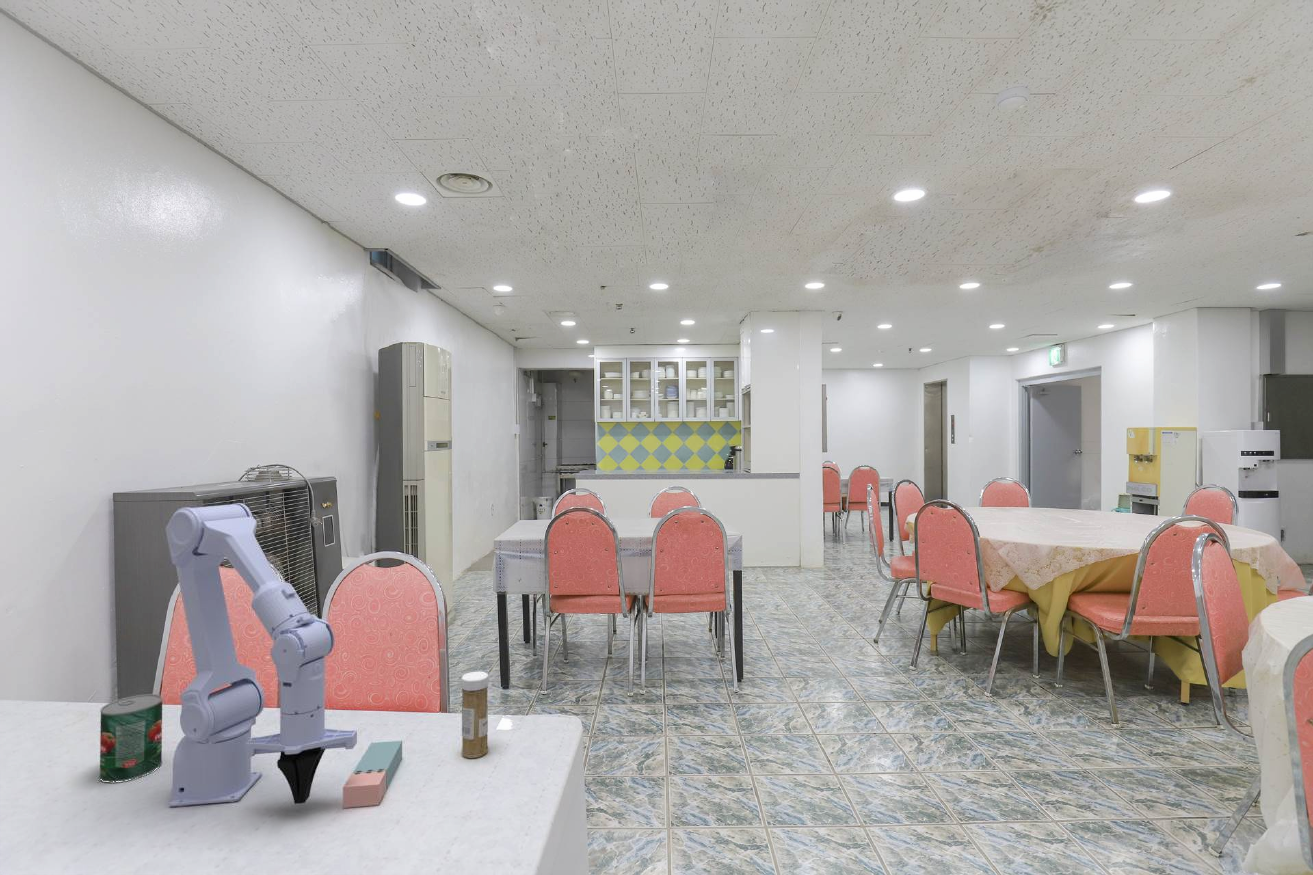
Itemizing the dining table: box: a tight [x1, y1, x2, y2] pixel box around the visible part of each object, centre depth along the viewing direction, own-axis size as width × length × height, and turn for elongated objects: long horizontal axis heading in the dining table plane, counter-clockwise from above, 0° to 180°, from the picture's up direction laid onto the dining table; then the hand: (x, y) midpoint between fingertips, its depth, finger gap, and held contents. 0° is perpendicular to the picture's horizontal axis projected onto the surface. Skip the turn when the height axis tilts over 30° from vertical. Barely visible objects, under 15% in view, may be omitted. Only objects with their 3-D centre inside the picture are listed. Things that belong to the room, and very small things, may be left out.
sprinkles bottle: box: [460, 671, 490, 759], centre depth 109 cm, size 5×5×14 cm
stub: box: [342, 771, 387, 809], centre depth 94 cm, size 5×4×3 cm
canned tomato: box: [99, 693, 164, 782], centre depth 103 cm, size 8×8×11 cm
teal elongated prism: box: [352, 740, 403, 791], centre depth 101 cm, size 5×10×3 cm, turn 9°
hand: (302, 799), depth 92 cm, fingers closed
